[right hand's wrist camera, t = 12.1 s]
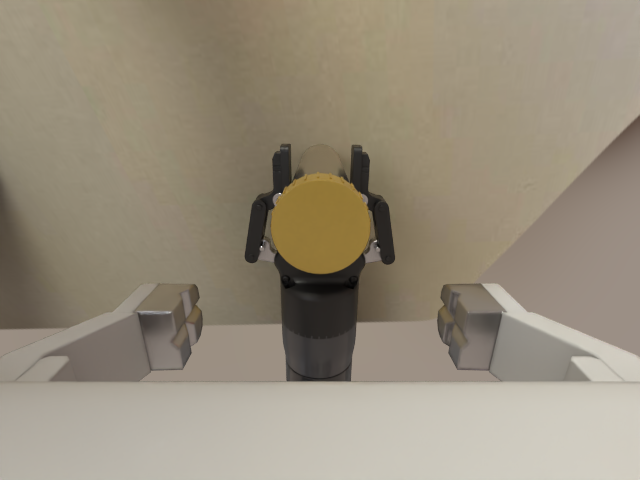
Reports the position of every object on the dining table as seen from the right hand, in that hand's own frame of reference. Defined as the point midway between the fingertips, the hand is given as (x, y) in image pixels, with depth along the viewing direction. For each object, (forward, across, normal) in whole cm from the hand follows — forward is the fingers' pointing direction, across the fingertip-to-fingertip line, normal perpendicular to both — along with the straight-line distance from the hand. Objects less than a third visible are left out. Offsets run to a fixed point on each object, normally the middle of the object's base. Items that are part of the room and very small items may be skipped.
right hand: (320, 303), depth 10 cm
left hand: (+20, 0, -2) cm, 20 cm away
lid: (+7, 0, 0) cm, 7 cm away
